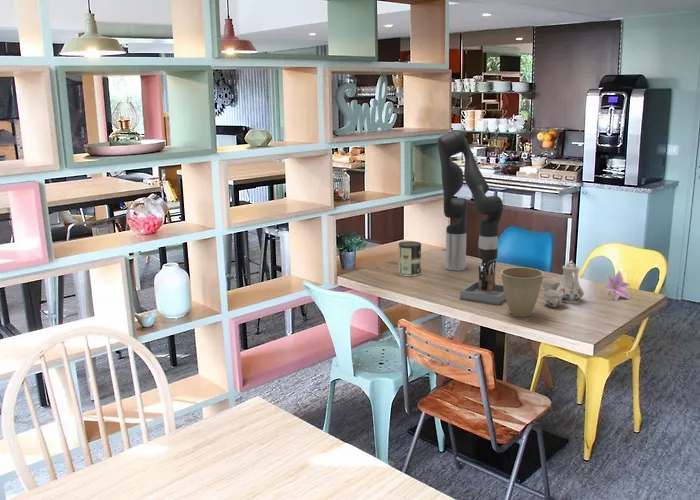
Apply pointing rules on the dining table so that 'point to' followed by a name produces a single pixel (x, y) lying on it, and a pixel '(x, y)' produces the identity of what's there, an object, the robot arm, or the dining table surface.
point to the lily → (617, 286)
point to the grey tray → (483, 294)
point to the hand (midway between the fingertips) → (486, 287)
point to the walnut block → (488, 283)
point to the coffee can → (409, 258)
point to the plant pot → (521, 289)
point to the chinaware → (563, 287)
